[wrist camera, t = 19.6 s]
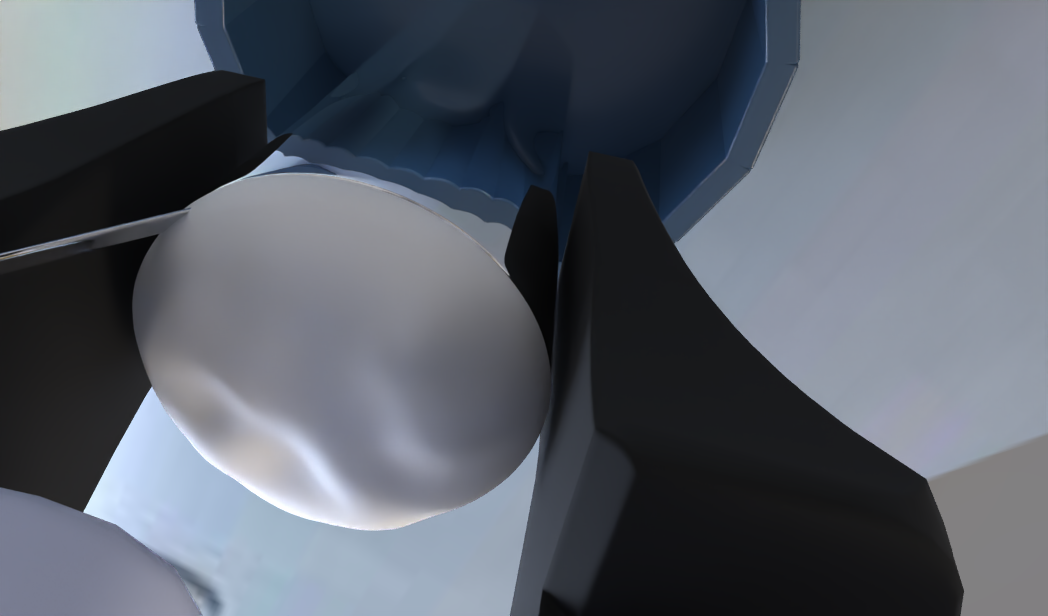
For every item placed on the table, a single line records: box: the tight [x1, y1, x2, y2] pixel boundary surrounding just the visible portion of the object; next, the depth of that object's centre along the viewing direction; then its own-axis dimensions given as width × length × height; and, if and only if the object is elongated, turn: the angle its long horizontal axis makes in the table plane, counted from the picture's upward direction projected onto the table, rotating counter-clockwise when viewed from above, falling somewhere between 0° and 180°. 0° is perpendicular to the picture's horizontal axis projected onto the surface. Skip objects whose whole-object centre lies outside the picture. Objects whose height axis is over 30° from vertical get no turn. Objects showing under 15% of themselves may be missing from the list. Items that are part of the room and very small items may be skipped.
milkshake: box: [0, 0, 575, 530], centre depth 11 cm, size 4×5×10 cm
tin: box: [194, 0, 801, 283], centre depth 17 cm, size 11×11×4 cm
